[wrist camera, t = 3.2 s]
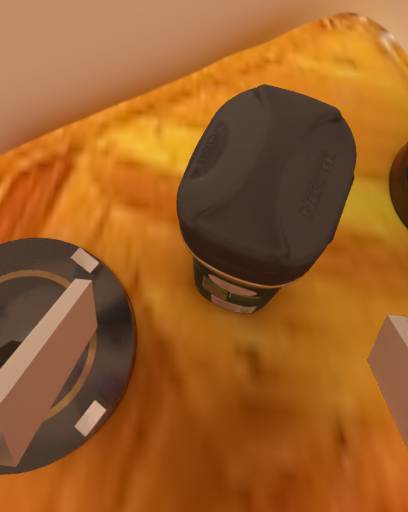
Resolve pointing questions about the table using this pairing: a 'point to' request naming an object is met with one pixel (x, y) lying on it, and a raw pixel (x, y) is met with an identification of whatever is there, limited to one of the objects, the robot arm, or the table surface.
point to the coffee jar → (264, 194)
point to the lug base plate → (94, 355)
